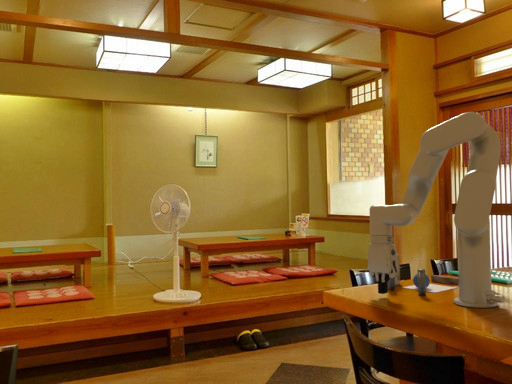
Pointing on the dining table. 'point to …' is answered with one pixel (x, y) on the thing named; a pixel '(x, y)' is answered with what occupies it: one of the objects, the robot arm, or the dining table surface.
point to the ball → (415, 280)
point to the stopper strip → (444, 279)
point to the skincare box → (397, 278)
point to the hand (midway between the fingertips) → (382, 293)
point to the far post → (391, 284)
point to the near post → (421, 282)
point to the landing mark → (432, 288)
